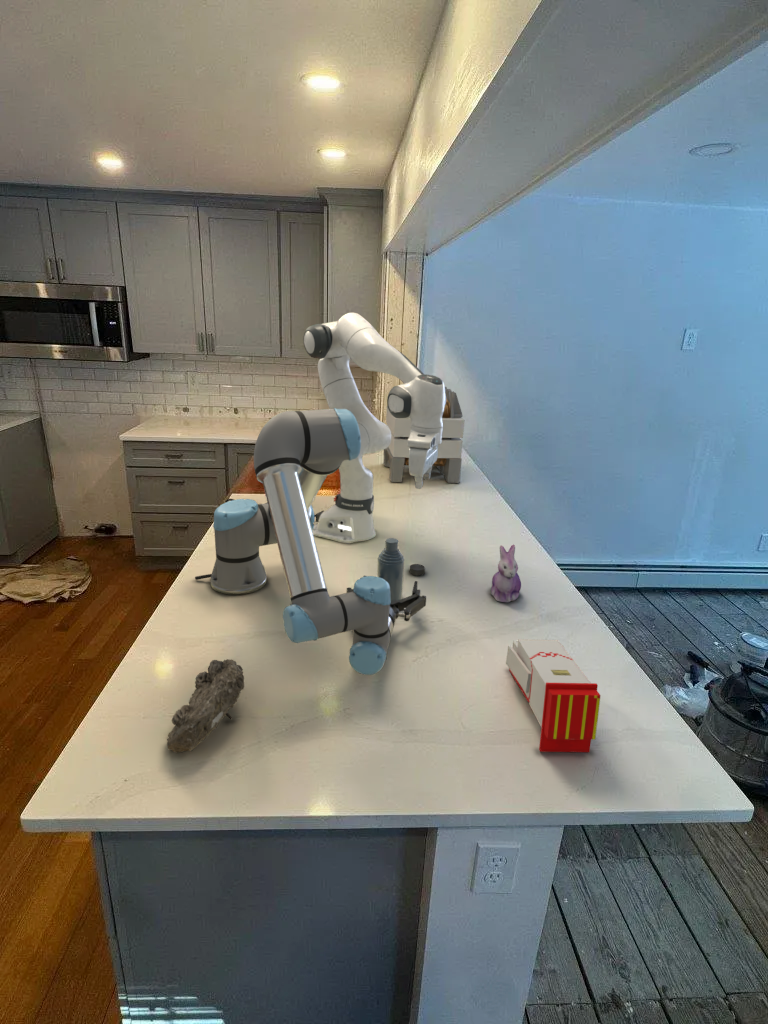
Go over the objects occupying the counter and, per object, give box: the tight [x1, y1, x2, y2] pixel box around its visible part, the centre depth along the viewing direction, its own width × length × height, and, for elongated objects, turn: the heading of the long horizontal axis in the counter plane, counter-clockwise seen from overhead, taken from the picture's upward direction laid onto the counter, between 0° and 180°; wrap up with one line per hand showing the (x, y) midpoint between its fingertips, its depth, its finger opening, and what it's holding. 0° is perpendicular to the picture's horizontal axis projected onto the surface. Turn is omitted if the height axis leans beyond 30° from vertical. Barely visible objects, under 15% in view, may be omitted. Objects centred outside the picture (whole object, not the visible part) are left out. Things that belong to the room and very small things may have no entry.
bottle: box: [376, 537, 405, 606], centre depth 152 cm, size 7×7×18 cm
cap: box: [409, 563, 426, 577], centre depth 171 cm, size 5×5×2 cm
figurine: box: [490, 544, 522, 603], centre depth 157 cm, size 9×10×15 cm
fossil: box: [166, 658, 245, 754], centre depth 106 cm, size 22×10×15 cm
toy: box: [505, 638, 602, 753], centre depth 114 cm, size 12×13×30 cm
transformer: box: [383, 386, 465, 484], centre depth 268 cm, size 34×33×41 cm
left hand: (390, 582), depth 150 cm, fingers open, 13 cm apart
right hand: (422, 483), depth 162 cm, fingers open, 8 cm apart
